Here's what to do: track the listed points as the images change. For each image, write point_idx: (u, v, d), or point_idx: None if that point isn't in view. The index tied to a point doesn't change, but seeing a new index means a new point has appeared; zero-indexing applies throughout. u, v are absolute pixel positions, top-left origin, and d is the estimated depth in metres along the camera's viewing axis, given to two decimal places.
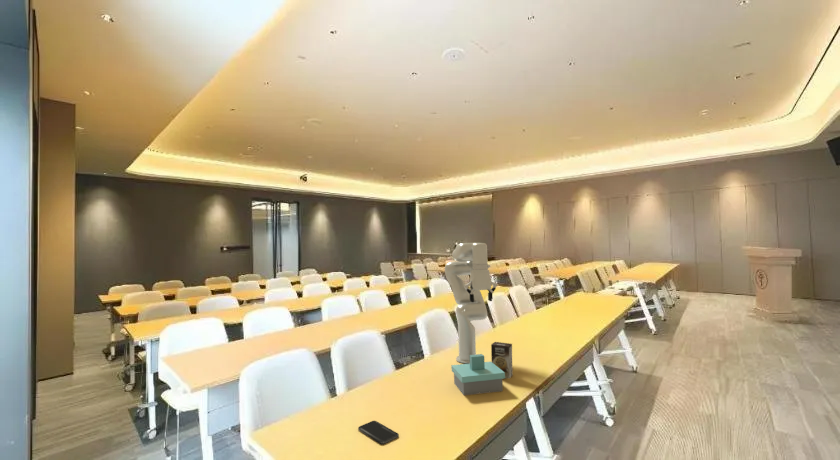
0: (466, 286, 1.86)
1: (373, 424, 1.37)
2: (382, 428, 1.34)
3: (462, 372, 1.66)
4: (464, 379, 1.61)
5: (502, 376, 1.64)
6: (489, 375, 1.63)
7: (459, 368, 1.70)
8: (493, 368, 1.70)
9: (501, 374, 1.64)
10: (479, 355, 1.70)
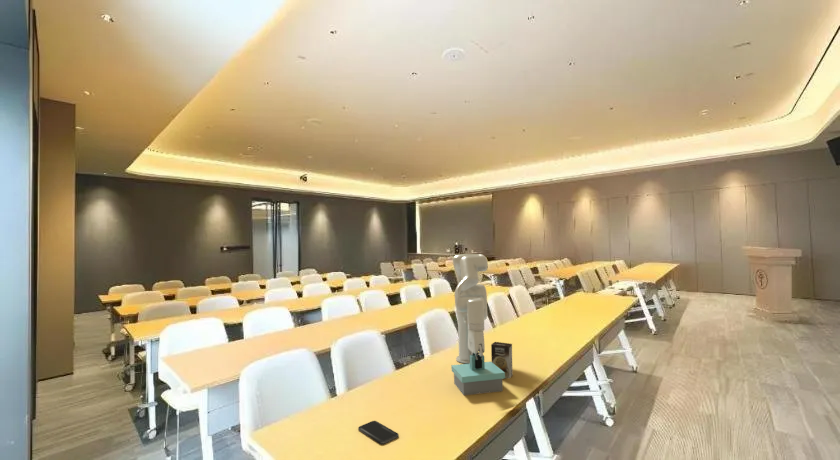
0: None
1: (373, 424, 1.37)
2: (382, 428, 1.34)
3: (462, 372, 1.66)
4: (464, 379, 1.61)
5: (502, 376, 1.64)
6: (489, 375, 1.63)
7: (459, 368, 1.70)
8: (493, 368, 1.70)
9: (501, 374, 1.64)
10: None
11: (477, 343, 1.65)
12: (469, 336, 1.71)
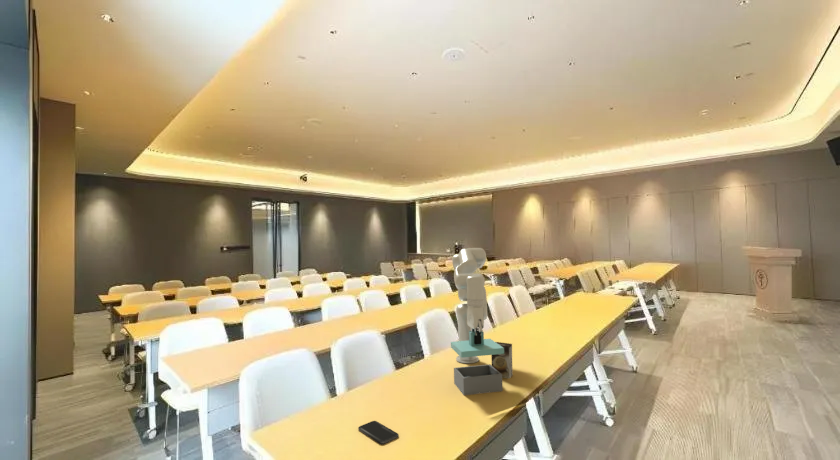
0: None
1: (373, 424, 1.37)
2: (382, 428, 1.34)
3: (461, 347, 1.66)
4: (464, 353, 1.61)
5: (501, 351, 1.65)
6: (488, 350, 1.63)
7: (458, 344, 1.71)
8: (492, 344, 1.70)
9: (500, 349, 1.65)
10: None
11: (476, 319, 1.66)
12: (468, 312, 1.72)
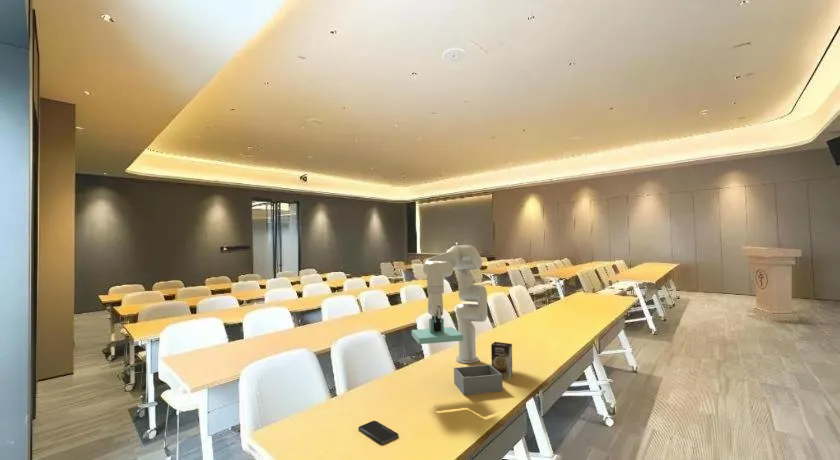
0: None
1: (373, 424, 1.37)
2: (382, 428, 1.34)
3: (420, 335, 1.64)
4: (421, 340, 1.59)
5: (460, 338, 1.63)
6: (447, 337, 1.61)
7: (418, 332, 1.69)
8: (452, 332, 1.68)
9: (459, 336, 1.63)
10: None
11: (435, 305, 1.64)
12: (429, 300, 1.70)
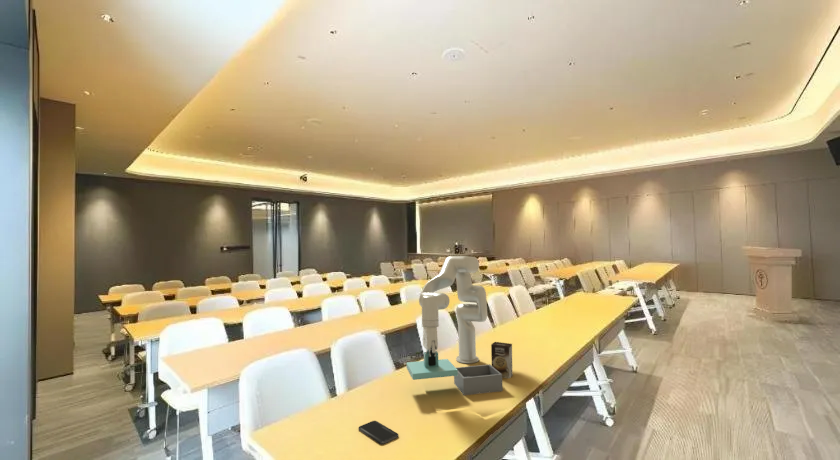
0: None
1: (373, 424, 1.37)
2: (382, 428, 1.34)
3: (414, 369, 1.63)
4: (415, 375, 1.58)
5: (455, 373, 1.62)
6: (441, 372, 1.60)
7: (412, 366, 1.68)
8: (447, 365, 1.67)
9: (454, 371, 1.62)
10: None
11: (430, 340, 1.63)
12: (423, 333, 1.69)
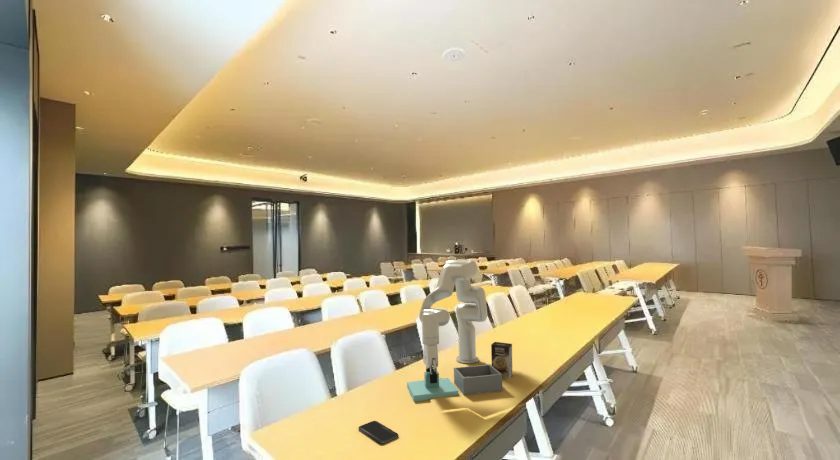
0: None
1: (373, 424, 1.37)
2: (382, 428, 1.34)
3: (415, 390, 1.63)
4: (416, 397, 1.58)
5: (455, 394, 1.62)
6: (442, 393, 1.60)
7: (413, 386, 1.68)
8: (447, 386, 1.67)
9: (454, 392, 1.62)
10: None
11: (430, 357, 1.63)
12: (424, 350, 1.69)
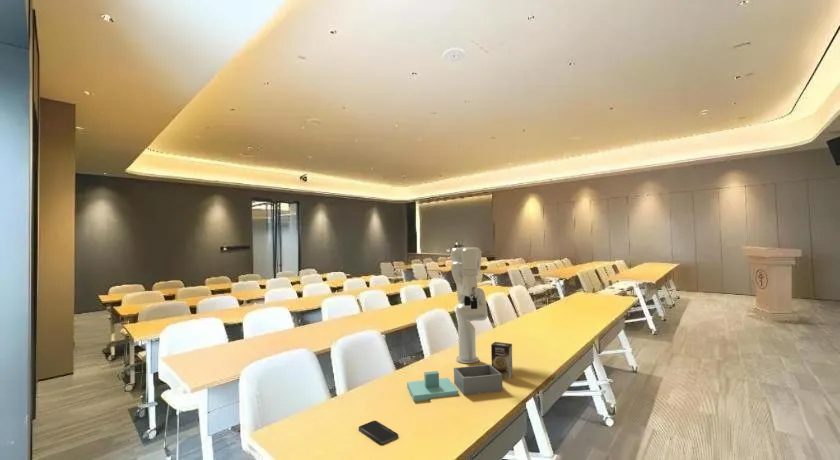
0: None
1: (373, 424, 1.37)
2: (382, 428, 1.34)
3: (415, 390, 1.63)
4: (416, 397, 1.58)
5: (455, 394, 1.62)
6: (442, 393, 1.60)
7: (413, 386, 1.68)
8: (447, 386, 1.67)
9: (454, 392, 1.62)
10: (434, 372, 1.68)
11: (470, 286, 1.81)
12: (463, 282, 1.87)
